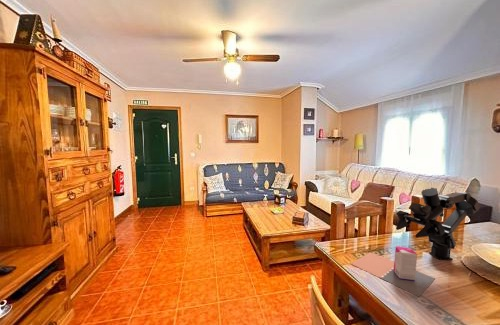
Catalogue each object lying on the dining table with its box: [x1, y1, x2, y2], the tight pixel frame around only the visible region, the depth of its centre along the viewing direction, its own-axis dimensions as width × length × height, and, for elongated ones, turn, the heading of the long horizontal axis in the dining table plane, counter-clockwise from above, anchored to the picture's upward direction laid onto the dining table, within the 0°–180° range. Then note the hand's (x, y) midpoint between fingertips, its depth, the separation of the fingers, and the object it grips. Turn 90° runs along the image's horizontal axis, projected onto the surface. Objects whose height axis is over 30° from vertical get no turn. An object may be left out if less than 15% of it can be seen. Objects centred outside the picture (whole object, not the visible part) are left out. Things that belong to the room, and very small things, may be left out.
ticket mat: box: [350, 252, 436, 298], centre depth 95 cm, size 26×18×1 cm
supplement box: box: [393, 245, 418, 281], centre depth 90 cm, size 6×6×12 cm
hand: (405, 232), depth 97 cm, fingers open, 9 cm apart
